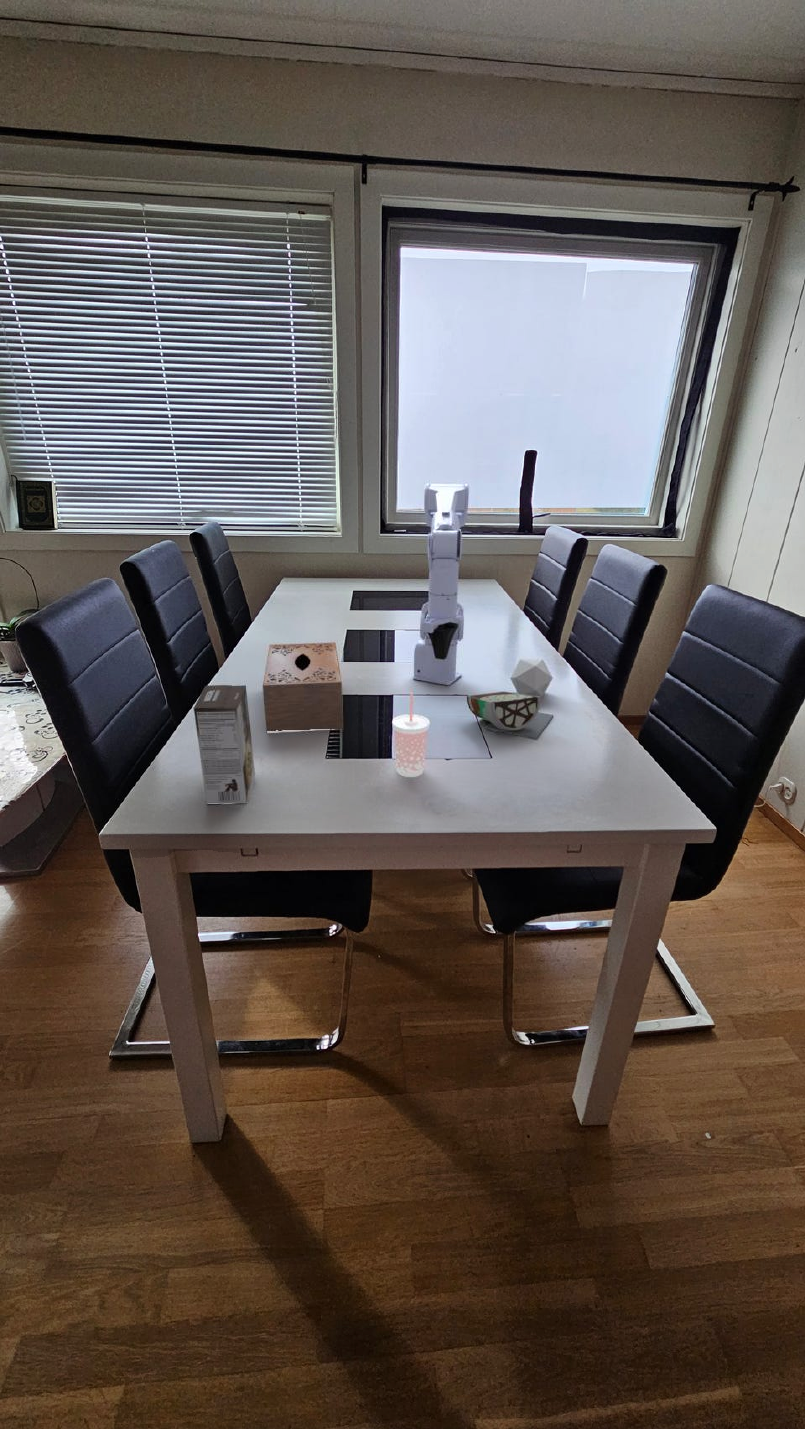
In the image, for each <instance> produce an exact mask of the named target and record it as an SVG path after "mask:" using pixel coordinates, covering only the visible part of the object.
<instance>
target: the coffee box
mask: <svg viewBox="0 0 805 1429" xmlns="http://www.w3.org/2000/svg"><path fill="white" fill-rule="evenodd" d="M247 693H248V692H247V685H245V684H244V685H231V684H219V685H218V684H215V685H214V684H213V685H205V686H204V688H203V689H202V691H201V694H200V695H199V697H198V700H197V701H196V703H195V705H194V706H193V713H194V720H195V727H196V728H195V729H196V735H197V736H196V737H197V742H198V743H197V744H198V750H199V757H200V764H201V772H202V773H201V774H202V780H203V788H204V793H205V801H206V804H207V803H246V804H248V803H249V800H248V799H250V796H251V792H252V788H251V787H253V785H252V784H254V781H255V776H256V771H255V769H256V768H255V761H254V760H255V759H254V753H253V751H254V750H253V742H252V733H251V721H250V712H249V705H248V704H249V701H248V694H247ZM253 780H254V781H253ZM249 795H250V796H249ZM247 802H248V803H247Z"/></svg>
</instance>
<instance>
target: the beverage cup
mask: <svg viewBox="0 0 805 1429" xmlns="http://www.w3.org/2000/svg"><path fill="white" fill-rule="evenodd" d="M413 704H414V692H409V714H400V715H397V716H396V717H394V718H393V719H392V722H391V724H392V729H393V736H394V753H395V767H396V769H395V770H396V773H397V774H399V775H400V776H403V777H405V778H416V777H419V776H421V775H423V773H424V771H425V769H424V768H425V759H426V749H427V748H426V747H427V738H428V730H429V728H430V724H431V722H430V720H429V718H427V717H426V716H423V715H420V714H413V711H414V710H413V708H414V706H413Z"/></svg>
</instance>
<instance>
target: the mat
mask: <svg viewBox="0 0 805 1429" xmlns="http://www.w3.org/2000/svg"><path fill="white" fill-rule="evenodd" d="M553 718H554V715H553V714H550V713H545V712H540V711H538V713H537V715H536V716H535V718H534V719H533V721H532V722H531V723H530V724H529V725H527V726H526V727H524V728H521V729H519V730H512V731H505V730H501V729H499V728H497V727H496V726H494V725H493V724H492V722H489V723H488V724H487V725H486V726H485V729H486V730H491V731H493V732H494V731H495V732H500V733H504V734H508V735H509V734H510V735H515V736H519V737H523V738H524V737H525V738H527V739H534V740H537V739H538V738H539V737H540V735H541V734H542V733H543V731H544V730H545V729H546V727H547V726H548V724H549V723H550V722H551V721H552V719H553Z"/></svg>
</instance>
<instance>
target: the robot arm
mask: <svg viewBox="0 0 805 1429" xmlns="http://www.w3.org/2000/svg"><path fill="white" fill-rule="evenodd" d="M469 489H470V486H469V485H468V483H456V484H455V483H429V482H427V483H426V484H425V485H424V495H423V496H424V499H423V501H424V502H423V508H424V520H425V525H426V526H428V527H430V532H428V535H427V558H428V560H427V561H428V570H429V572H428V575H429V576H428V601H427V602H426V603H424V604H423V605H422V607H421V614H420V619H419V620H420V621H419V624H420V625H419V626H420V628H419V634H420V635H419V637H420V638H419V640H417V642H416V644H415V648H414V652H413V654H414V655H413V676H412V679H414V680H419V681H422V682H429V683H434V684H438V685H439V684H440V685H445V686H450V685H452V684H453V683H454V682H456V680H458V679H459V678H460V677H462V675H463V674H462V673H461V672H457V656H458V655H457V651H458V642H461V641H462V640H463V639H464V628H465V623H464V622H465V617H464V616H465V615H464V608H463V606H462V605H461V604H460V603H459V602H458V590H459V587H458V586H459V568H460V567H459V566H460V562H459V561H461V558H462V551H463V534H462V529H460V528H462V527H464V526H465V525H466V521H467V519H468V511H469V510H468V509H469V495H470V490H469Z"/></svg>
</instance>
